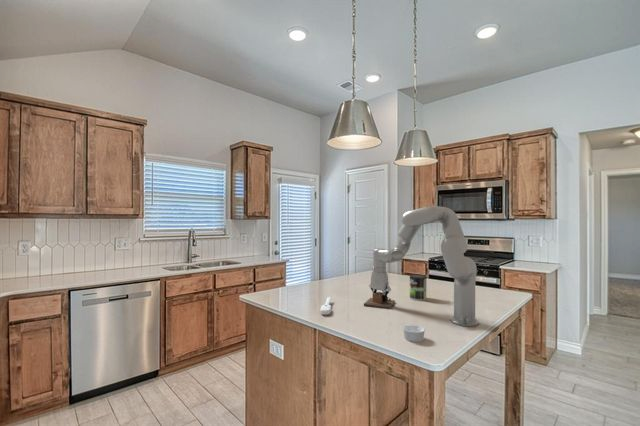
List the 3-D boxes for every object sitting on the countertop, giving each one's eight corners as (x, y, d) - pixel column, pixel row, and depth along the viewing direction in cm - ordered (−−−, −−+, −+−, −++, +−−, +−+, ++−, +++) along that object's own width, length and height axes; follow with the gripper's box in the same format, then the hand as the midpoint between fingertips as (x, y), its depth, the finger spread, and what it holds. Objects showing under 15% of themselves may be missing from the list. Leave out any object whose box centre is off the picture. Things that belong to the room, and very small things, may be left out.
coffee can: (417, 301, 194) (417, 278, 194) (406, 297, 203) (406, 275, 203) (430, 299, 198) (430, 276, 198) (418, 295, 208) (418, 273, 208)
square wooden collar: (380, 304, 183) (380, 295, 183) (372, 302, 188) (372, 293, 188) (391, 301, 190) (391, 292, 190) (383, 299, 194) (383, 290, 194)
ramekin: (415, 344, 129) (415, 333, 129) (398, 337, 136) (398, 327, 136) (429, 339, 134) (429, 329, 134) (411, 333, 141) (411, 323, 141)
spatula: (324, 301, 193) (324, 296, 193) (334, 301, 193) (334, 296, 193) (319, 315, 165) (319, 310, 165) (330, 316, 165) (330, 310, 165)
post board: (390, 309, 177) (390, 297, 178) (363, 306, 183) (363, 294, 183) (395, 302, 191) (395, 291, 191) (370, 299, 197) (370, 288, 197)
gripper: (364, 268, 191) (364, 298, 191) (388, 272, 179) (388, 304, 178) (372, 267, 196) (372, 296, 196) (396, 270, 183) (396, 302, 183)
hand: (379, 300), depth 187 cm, fingers closed on square wooden collar, 6 cm apart
